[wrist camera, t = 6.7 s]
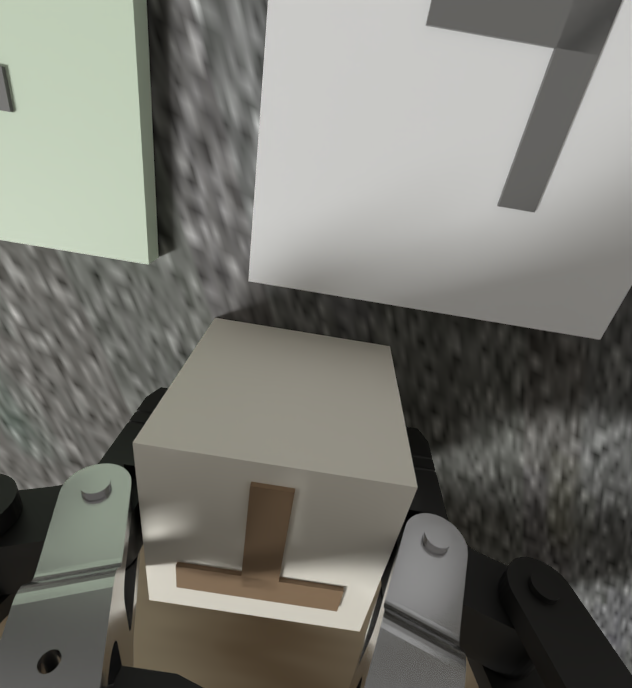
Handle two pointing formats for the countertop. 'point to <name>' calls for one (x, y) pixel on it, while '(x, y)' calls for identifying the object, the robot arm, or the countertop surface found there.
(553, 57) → the board
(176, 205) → the countertop surface
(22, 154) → the board
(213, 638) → the thin wooden plank
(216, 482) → the cube
